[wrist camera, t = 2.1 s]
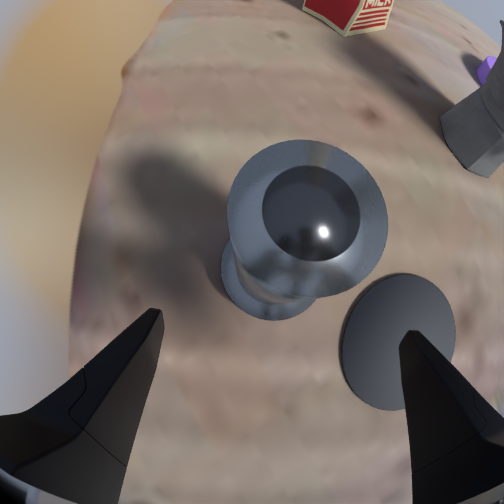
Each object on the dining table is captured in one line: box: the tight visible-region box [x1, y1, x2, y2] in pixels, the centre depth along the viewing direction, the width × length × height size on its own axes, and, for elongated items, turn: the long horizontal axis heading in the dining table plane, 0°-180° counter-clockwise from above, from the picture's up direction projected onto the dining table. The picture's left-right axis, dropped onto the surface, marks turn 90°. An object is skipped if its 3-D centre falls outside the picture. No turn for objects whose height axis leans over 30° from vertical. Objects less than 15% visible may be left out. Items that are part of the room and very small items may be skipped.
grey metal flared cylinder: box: [221, 140, 388, 321], centre depth 14 cm, size 7×7×13 cm
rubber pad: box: [342, 275, 456, 411], centre depth 20 cm, size 11×11×1 cm
